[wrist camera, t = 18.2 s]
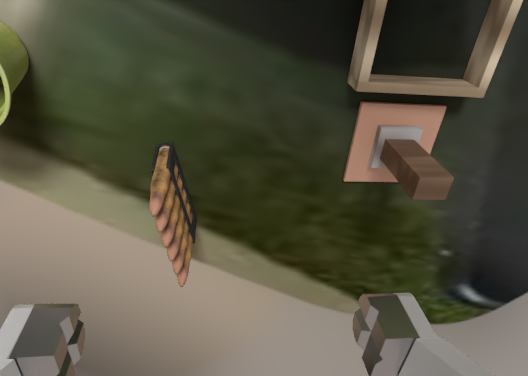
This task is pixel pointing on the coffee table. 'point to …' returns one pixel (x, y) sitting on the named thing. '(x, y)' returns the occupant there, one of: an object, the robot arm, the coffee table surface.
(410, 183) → the wooden post
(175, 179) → the ammunition clip
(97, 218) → the coffee table surface
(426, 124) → the terracotta tile
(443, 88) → the frame
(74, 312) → the robot arm
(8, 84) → the plant pot
